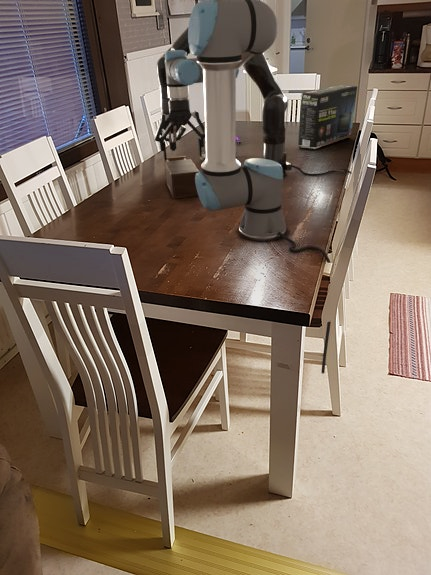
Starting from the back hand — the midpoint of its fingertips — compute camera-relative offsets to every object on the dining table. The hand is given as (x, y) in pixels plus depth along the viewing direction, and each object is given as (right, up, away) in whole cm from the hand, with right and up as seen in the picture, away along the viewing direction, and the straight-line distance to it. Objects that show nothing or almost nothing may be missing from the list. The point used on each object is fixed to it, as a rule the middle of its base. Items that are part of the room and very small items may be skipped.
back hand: (173, 150), depth 201 cm
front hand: (+6, -10, -25) cm, 28 cm away
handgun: (+27, +23, +57) cm, 68 cm away
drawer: (+2, -13, -2) cm, 13 cm away
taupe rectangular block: (+5, -20, -12) cm, 24 cm away
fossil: (+20, +2, +24) cm, 31 cm away
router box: (+77, +17, +44) cm, 90 cm away
